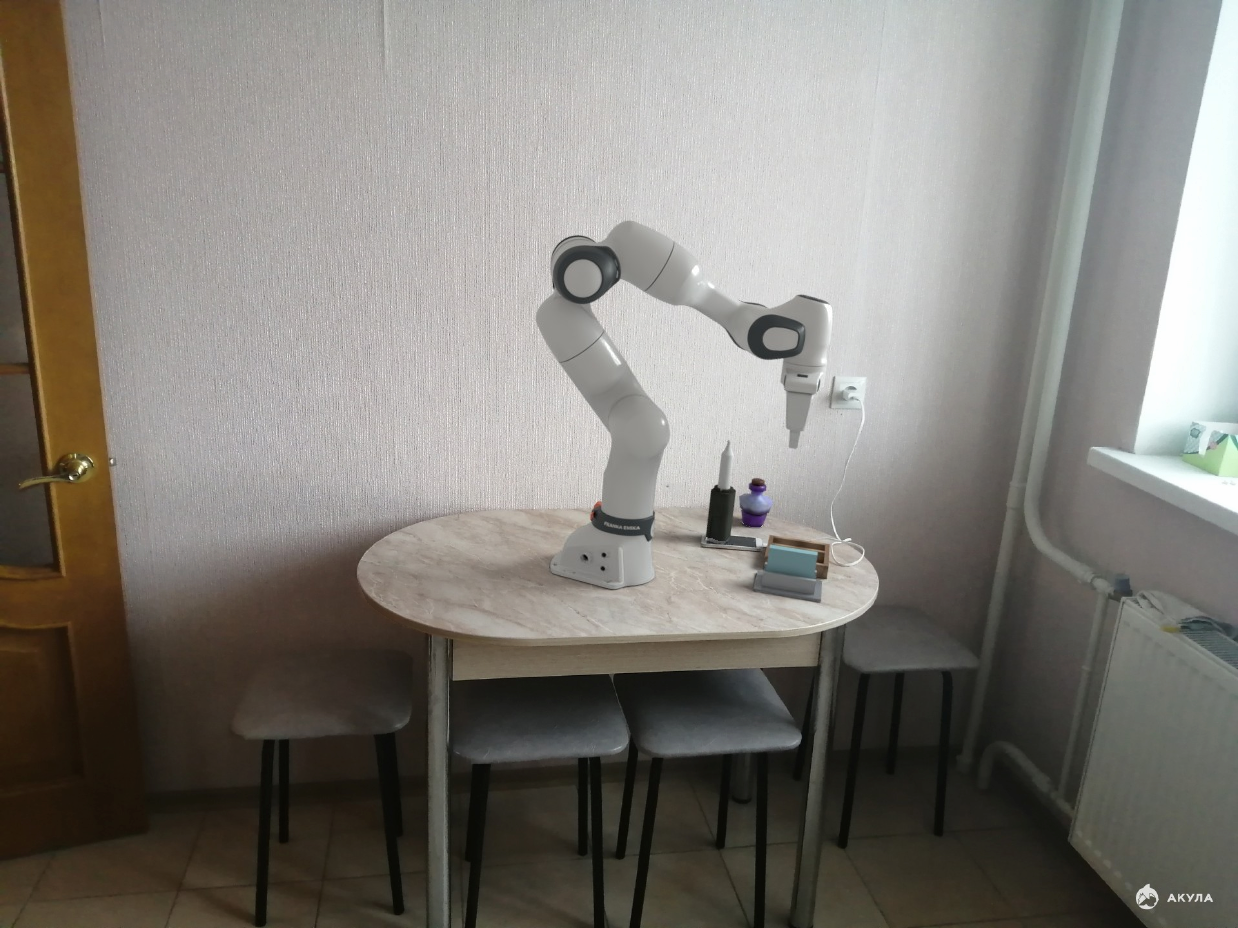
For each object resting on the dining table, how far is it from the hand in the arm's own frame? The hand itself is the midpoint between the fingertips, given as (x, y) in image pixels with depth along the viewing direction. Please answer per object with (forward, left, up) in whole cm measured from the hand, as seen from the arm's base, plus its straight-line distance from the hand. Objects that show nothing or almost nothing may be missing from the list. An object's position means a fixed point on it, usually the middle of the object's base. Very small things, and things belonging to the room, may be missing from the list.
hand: (794, 442), depth 184 cm
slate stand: (+3, -3, -31) cm, 31 cm away
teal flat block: (+3, -3, -30) cm, 31 cm away
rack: (+4, +12, -31) cm, 34 cm away
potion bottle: (-8, +33, -31) cm, 46 cm away
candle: (-15, +18, -31) cm, 39 cm away
